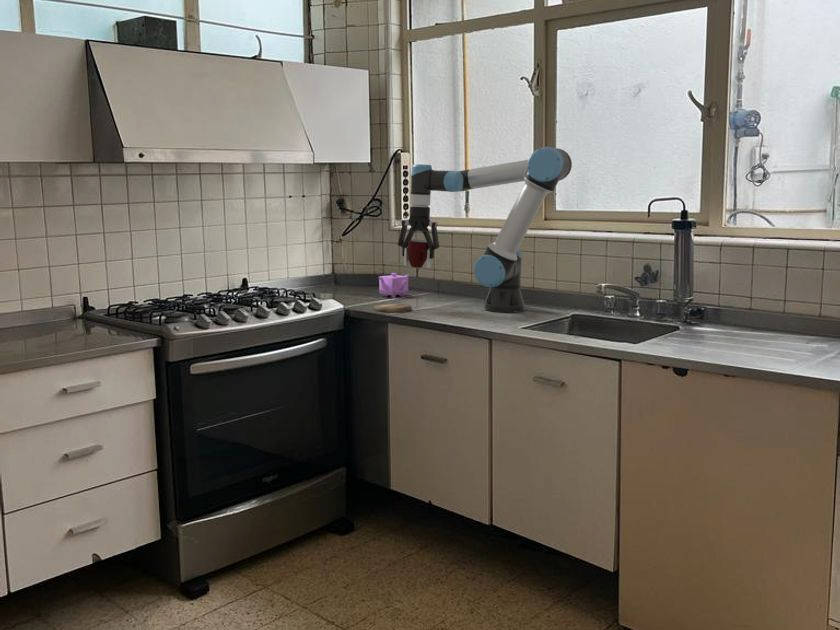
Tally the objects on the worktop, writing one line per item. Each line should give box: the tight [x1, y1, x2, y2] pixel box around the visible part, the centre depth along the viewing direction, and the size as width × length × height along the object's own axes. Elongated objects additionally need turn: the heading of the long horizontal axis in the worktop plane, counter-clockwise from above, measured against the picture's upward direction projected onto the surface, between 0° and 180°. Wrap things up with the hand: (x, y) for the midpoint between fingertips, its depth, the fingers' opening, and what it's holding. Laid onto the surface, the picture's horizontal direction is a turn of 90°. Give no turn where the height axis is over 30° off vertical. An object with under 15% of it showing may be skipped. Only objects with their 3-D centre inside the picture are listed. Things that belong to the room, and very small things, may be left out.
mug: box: [407, 238, 429, 269], centre depth 325 cm, size 10×8×10 cm
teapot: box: [377, 272, 410, 299], centre depth 361 cm, size 18×13×10 cm
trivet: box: [373, 303, 412, 314], centre depth 324 cm, size 14×14×1 cm
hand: (417, 266), depth 326 cm, fingers closed on mug, 9 cm apart
